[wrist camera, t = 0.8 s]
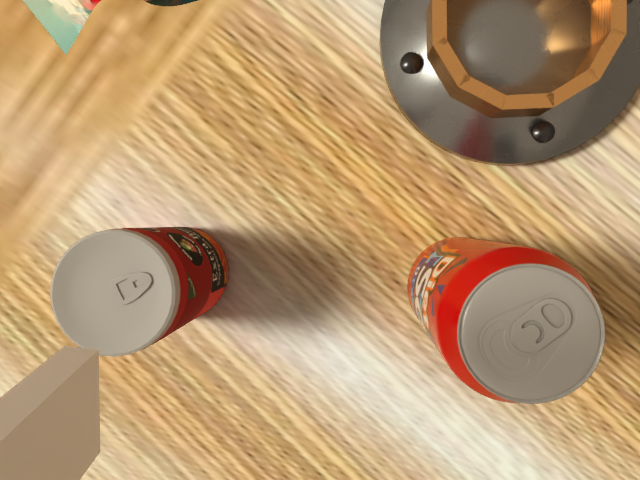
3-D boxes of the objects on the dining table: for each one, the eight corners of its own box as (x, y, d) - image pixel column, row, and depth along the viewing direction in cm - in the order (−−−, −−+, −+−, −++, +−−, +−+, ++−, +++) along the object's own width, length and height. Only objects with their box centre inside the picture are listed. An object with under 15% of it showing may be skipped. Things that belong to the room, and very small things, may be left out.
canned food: (249, 275, 36) (202, 299, 25) (181, 335, 36) (105, 385, 25) (190, 206, 36) (117, 200, 25) (123, 268, 36) (23, 288, 25)
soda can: (526, 290, 34) (661, 346, 19) (449, 352, 34) (520, 453, 19) (460, 216, 34) (543, 212, 19) (385, 279, 35) (407, 324, 20)
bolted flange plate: (698, -26, 32) (741, -56, 28) (558, 210, 33) (582, 209, 30) (459, -142, 33) (472, -186, 29) (334, 92, 34) (332, 77, 31)
